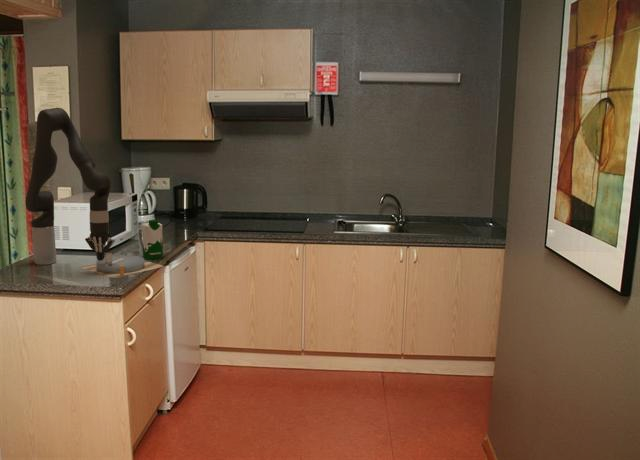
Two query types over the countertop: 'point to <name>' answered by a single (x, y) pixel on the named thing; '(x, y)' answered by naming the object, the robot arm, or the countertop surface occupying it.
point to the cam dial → (120, 263)
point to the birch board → (114, 275)
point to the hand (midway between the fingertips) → (100, 260)
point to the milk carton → (152, 240)
